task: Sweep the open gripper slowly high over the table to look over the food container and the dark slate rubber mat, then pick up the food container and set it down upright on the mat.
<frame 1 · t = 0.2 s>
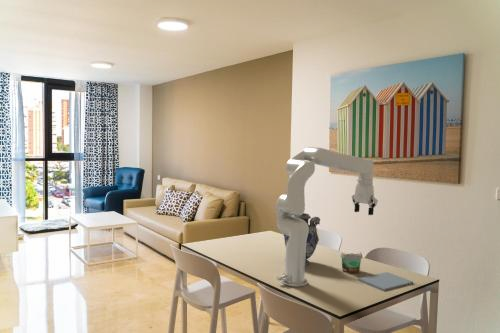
hand: (363, 213, 217), 31 cm above the table, tool pointing down, fingers open, 9 cm apart
decorative vase: (300, 262, 229), on the table
slate mat: (385, 281, 201), on the table
food container: (352, 272, 214), on the table
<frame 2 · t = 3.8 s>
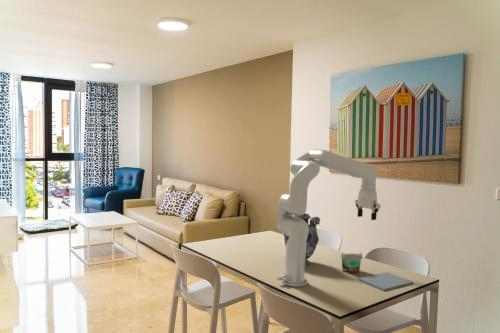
hand: (366, 218, 219), 28 cm above the table, tool pointing down, fingers open, 9 cm apart
nothing on the table moved.
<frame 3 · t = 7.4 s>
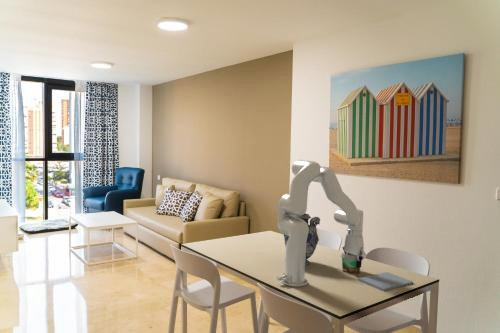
hand: (353, 265, 214), 4 cm above the table, tool pointing down, fingers closed on food container, 6 cm apart
food container: (353, 272, 214), on the table, touching gripper
everything else where it was.
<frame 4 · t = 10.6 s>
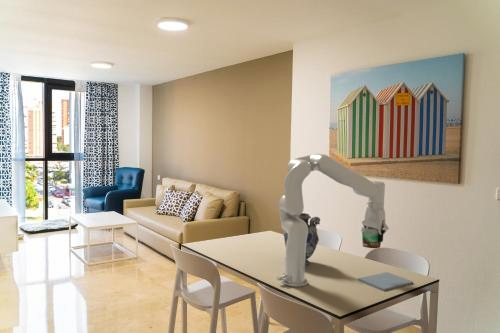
hand: (374, 239, 205), 20 cm above the table, tool pointing down, fingers closed on food container, 6 cm apart
food container: (373, 247, 205), point 16 cm above the table, touching gripper
everything else where it was.
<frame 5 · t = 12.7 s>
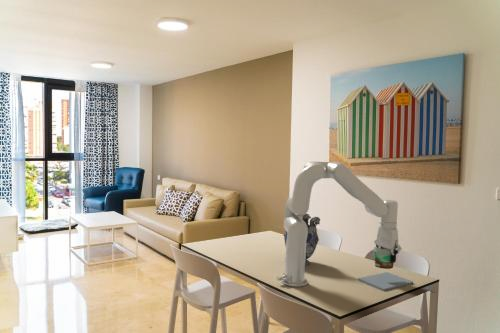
hand: (386, 260, 201), 11 cm above the table, tool pointing down, fingers closed on food container, 6 cm apart
food container: (386, 267, 201), point 7 cm above the table, touching gripper
everything else where it was.
when the fingers open (6 cm above the table, at t = 14.2 s): food container drops 1 cm, resting on slate mat.
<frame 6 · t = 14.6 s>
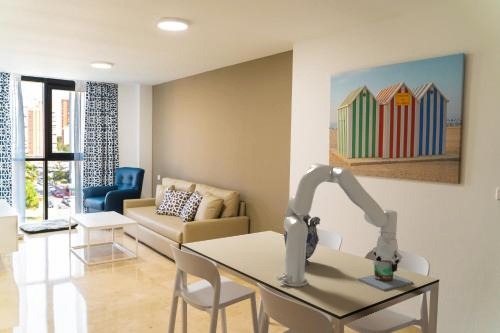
hand: (386, 268, 201), 7 cm above the table, tool pointing down, fingers open, 9 cm apart
food container: (386, 280, 201), point 1 cm above the table, touching slate mat
everything else where it was.
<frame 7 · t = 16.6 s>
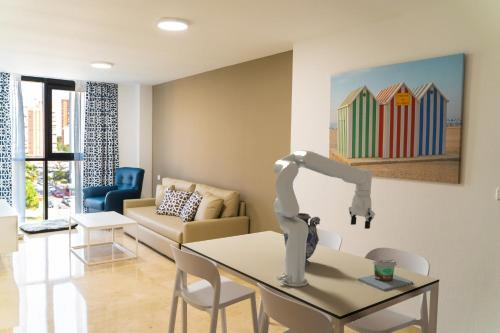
hand: (360, 226, 206), 26 cm above the table, tool pointing down, fingers open, 9 cm apart
nothing on the table moved.
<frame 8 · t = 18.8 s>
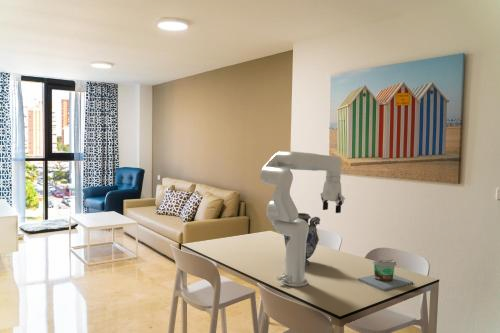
hand: (331, 211, 214), 32 cm above the table, tool pointing down, fingers open, 9 cm apart
nothing on the table moved.
at the end: food container inside the target area on the slate mat (0.7 cm from its centre), point 0.8 cm above the slate mat's base; food container tilted 0°; the gripper is holding nothing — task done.
